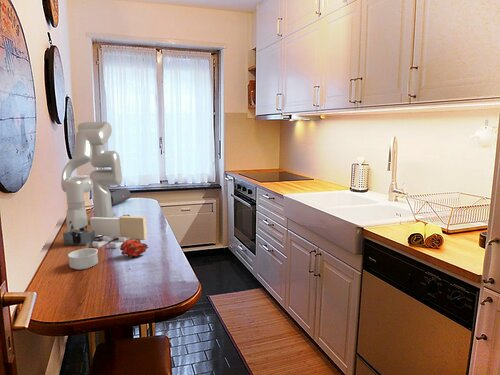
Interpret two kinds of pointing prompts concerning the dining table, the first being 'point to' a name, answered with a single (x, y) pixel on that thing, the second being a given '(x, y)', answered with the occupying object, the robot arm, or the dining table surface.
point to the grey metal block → (83, 237)
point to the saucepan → (83, 258)
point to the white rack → (118, 229)
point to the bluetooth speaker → (119, 196)
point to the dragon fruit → (133, 248)
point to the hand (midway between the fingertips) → (79, 241)
